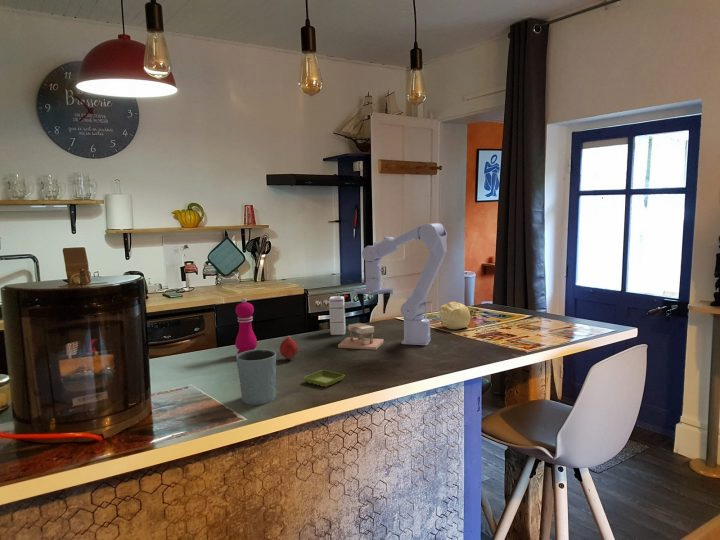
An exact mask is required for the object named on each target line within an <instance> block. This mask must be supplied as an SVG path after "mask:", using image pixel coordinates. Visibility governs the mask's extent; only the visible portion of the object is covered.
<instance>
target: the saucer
mask: <svg viewBox="0 0 720 540" xmlns="http://www.w3.org/2000/svg"><path fill="white" fill-rule="evenodd" d="M344 377H346V375H345V374H343V373H340V372H335V371H331V370H325V369H321V370H318V371H315V372H313V373H310V374H308V375H305V376H303V379H304V380H305V381H306V382H307V383H309V384H311V383H313V384H312V385H315V384H316V385H315V386H319V385H320V387H323V386H325V387H324V388H326V387H329V385H330V386H332V385H333V384H336V383H339V382H341V381H342V380H343V379H344ZM338 381H339V382H338Z"/></svg>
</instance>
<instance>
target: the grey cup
mask: <svg viewBox="0 0 720 540" xmlns="http://www.w3.org/2000/svg"><path fill="white" fill-rule="evenodd" d="M235 359H236V362H237V363H236V364H237V368H238V378H239V383H240V384H239V386H240V392H241V400H242V402H243V403H244V404H246V405H251V406H259V404H260V405H265V403H266V404H269V403H271V402H273V401H274V400H275V399H276V383H277V382H276V380H277V379H276V377H277V376H276V375H277V374H276V372H277V371H276V370H277V369H276V368H277V352H276V351H274V350H271V349H263V348H262V349H259V348H258V349H257V348H255V350H249V351H245V352H242V353H240V354H238V355H237V354H236V357H235ZM274 398H275V399H274ZM272 400H273V401H272ZM268 402H269V403H268Z"/></svg>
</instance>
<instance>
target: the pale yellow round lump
mask: <svg viewBox="0 0 720 540" xmlns="http://www.w3.org/2000/svg"><path fill="white" fill-rule="evenodd" d="M439 316H440V318H441V321H442V322H441V323H442V326H444V327H445V328H447V329H448V330H460V329H463V328H467V327H468V326H469V324H470V323H471V317H472V316H471V312H470V310H469V308H468V306H467V305H465V304H463V303H461V302H456V301H450V302H447V303H444V304H443V305H441V306H440V307H439Z"/></svg>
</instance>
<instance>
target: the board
mask: <svg viewBox="0 0 720 540" xmlns="http://www.w3.org/2000/svg"><path fill="white" fill-rule="evenodd" d="M384 342H385V340H384V339H383V338H373V343H372V344H370V337H368V338H367V337H365V345H361V340H358V337H353V341H350V336H349V337H345V338H344V339H343V340H342V341H341V342H339V344H337V348H338V349H339V348H341V349H356V350H357V349H358V350H359V349H360V350H374V351H375V350H377V349H378V348H379V347H380V346H381V345H383V343H384Z"/></svg>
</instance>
